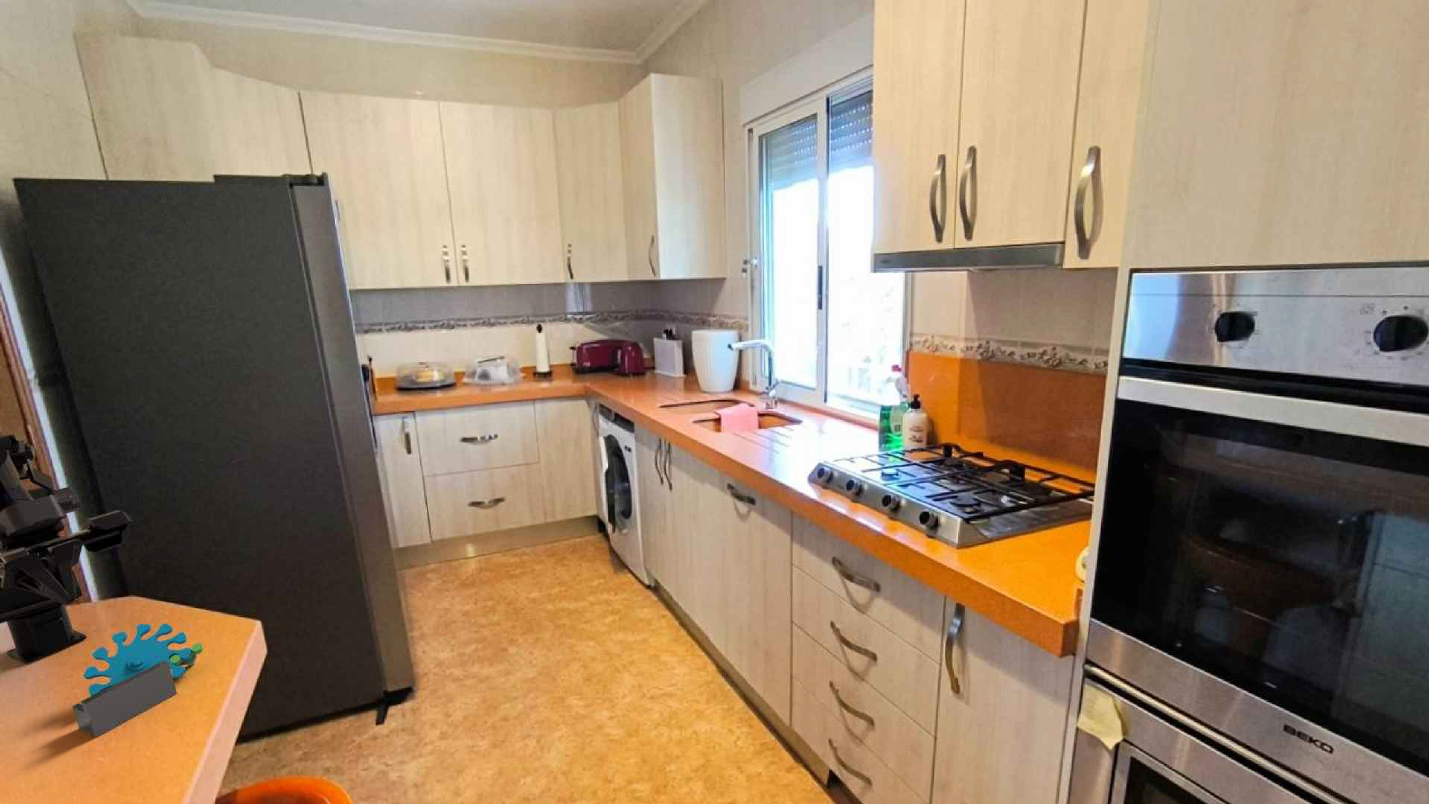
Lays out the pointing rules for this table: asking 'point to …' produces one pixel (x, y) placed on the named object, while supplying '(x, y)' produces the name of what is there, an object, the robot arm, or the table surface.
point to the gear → (142, 656)
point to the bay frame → (125, 700)
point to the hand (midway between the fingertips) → (71, 602)
